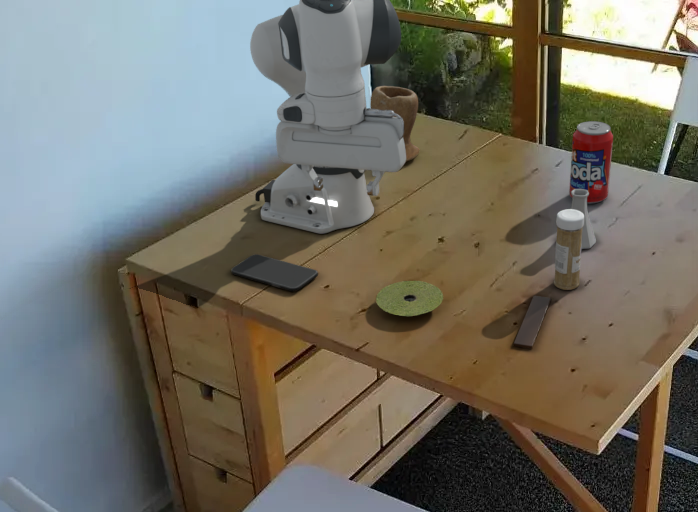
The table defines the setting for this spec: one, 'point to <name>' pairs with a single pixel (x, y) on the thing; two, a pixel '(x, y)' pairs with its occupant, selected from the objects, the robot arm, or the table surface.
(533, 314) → the walnut strip
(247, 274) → the smartphone
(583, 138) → the soda can
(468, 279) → the table surface
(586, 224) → the flask
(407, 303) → the green flat disc
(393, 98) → the stone cup
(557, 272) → the sprinkles bottle
